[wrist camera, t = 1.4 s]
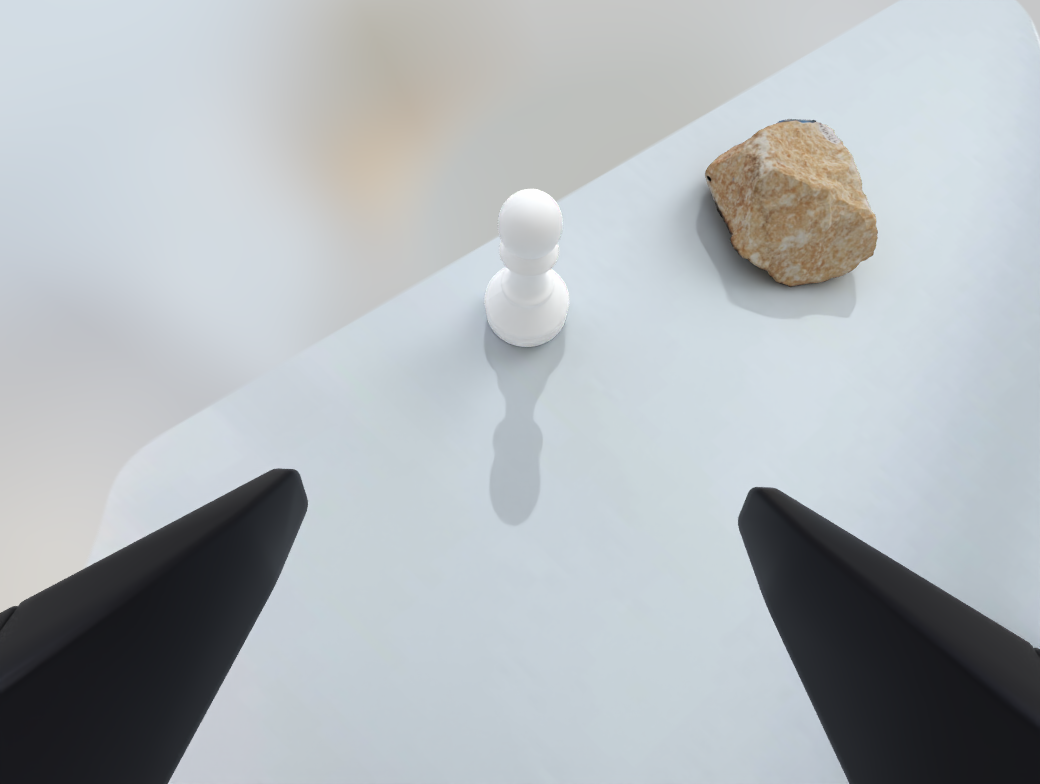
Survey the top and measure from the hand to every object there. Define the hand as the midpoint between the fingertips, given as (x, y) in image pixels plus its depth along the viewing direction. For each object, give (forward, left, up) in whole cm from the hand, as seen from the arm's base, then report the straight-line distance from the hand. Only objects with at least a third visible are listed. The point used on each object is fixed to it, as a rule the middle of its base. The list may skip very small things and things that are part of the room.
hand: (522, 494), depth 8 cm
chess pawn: (+11, -2, -14) cm, 18 cm away
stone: (+15, -20, -14) cm, 28 cm away
